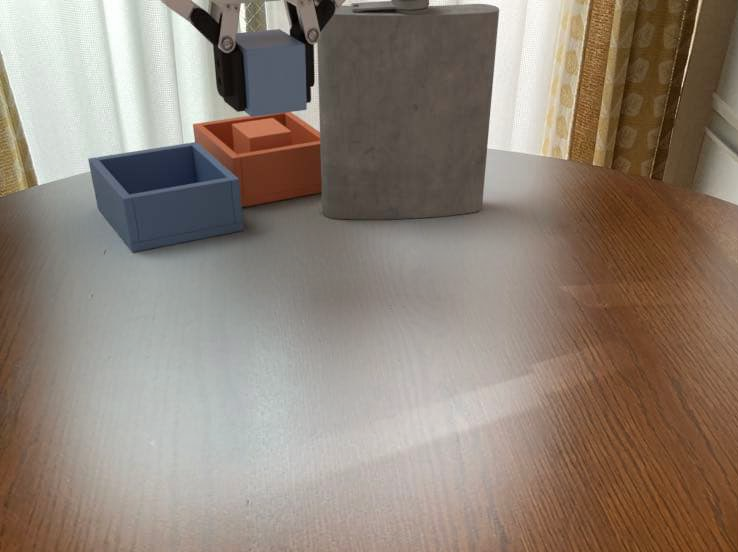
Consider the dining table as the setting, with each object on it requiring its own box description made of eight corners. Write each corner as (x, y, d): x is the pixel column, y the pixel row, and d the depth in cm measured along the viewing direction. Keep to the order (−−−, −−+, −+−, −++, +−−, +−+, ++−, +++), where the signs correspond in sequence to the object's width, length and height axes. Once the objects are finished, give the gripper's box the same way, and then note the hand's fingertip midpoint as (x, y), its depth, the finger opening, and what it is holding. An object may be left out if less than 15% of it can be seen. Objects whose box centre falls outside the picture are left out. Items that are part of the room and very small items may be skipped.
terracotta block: (252, 184, 92) (249, 137, 89) (235, 169, 95) (231, 123, 92) (293, 177, 94) (291, 131, 91) (275, 162, 97) (273, 117, 94)
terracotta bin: (237, 208, 90) (232, 158, 86) (198, 171, 96) (192, 123, 93) (334, 190, 94) (333, 141, 90) (290, 156, 100) (288, 109, 97)
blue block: (251, 117, 67) (246, 50, 64) (228, 99, 70) (223, 33, 67) (307, 110, 69) (305, 44, 66) (282, 92, 72) (280, 28, 69)
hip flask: (477, 199, 93) (496, -30, 80) (487, 215, 90) (509, -20, 77) (320, 206, 90) (313, -29, 77) (325, 223, 88) (318, -19, 74)
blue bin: (132, 252, 82) (123, 199, 78) (97, 209, 88) (87, 158, 85) (243, 230, 86) (239, 178, 83) (202, 190, 93) (196, 141, 89)
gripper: (344, -211, 63) (344, 76, 75) (97, -216, 56) (142, 100, 69) (397, -202, 58) (388, 103, 71) (135, -205, 52) (175, 132, 64)
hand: (267, 99), depth 69 cm, fingers closed on blue block, 4 cm apart
